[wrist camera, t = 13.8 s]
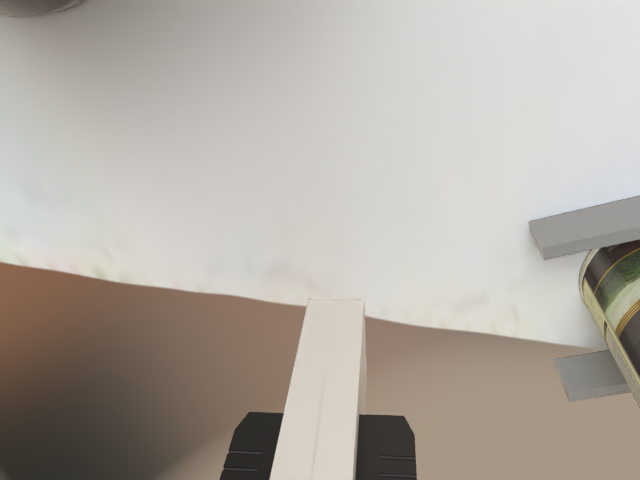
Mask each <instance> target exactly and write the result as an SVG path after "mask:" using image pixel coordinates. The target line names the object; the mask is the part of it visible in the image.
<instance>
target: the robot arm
mask: <svg viewBox="0 0 640 480" xmlns="http://www.w3.org/2000/svg"><path fill="white" fill-rule="evenodd" d="M82 1H84V0H0V15H3V16H10V17H35V16H41V15H46V14H50V13H54V12H59V11H62V10H65V9H68V8H71V7H73V6H75V5H77V4H79V3H81V2H82ZM366 386H367V363H366V336H365V307H364V299H308V304H307V309H306V313H305V318H304V322H303V327H302V332H301V336H300V341H299V346H298V350H297V355H296V360H295V364H294V369H293V374H292V378H291V383H290V387H289V392H288V397H287V401H286V406H285V410H284V413H263V412H249V413H248V414H247V415H246V417H245V418H244V419H243V420H242V421H241V423H240V424H239V425H238V427H237V428H236V429H235V431H234V434H233V438H232V441H231V444H230V447H229V454H227V457H226V460H225V464H224V470H223V471H222V473H221V477H220V480H417V478H416V458H415V457H416V456H415V437H414V433H413V431H412V430H411V428H410V426H409V424H408V422H407V421H406V419H405V417H404V416H392V415H390V416H389V415H365V407H366V406H365V405H366Z"/></svg>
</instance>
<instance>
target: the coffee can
mask: <svg viewBox="0 0 640 480" xmlns="http://www.w3.org/2000/svg"><path fill="white" fill-rule="evenodd" d="M579 289H580V293H581V297H582V299H583V301H584V303H585V305H586V306H587V307H588V309H589V310H590V312H591V314H592V316H593V318H594V320H595V322H596V324H597V326H598V328H599V330H600V332H601V334H602V336H603V337H604V339H605V341H606V343H607V345H608V347H609V350H610V352H611V353H612V355H613V357H614V359H615V361H616V363H617V365H618V367H619V369H620V371H621V373H622V375H623V376H624V378H625V380H626V382H627V384H628V386H629V388H630V390H631V392H632V394H633V396H634V398H635V400H636V402H637V404H638V406H639V408H640V239H639V240H634V241H630V242H625V243H620V244H616V245H611V246H606V247H602V248H597V249H592V250H591V252H590V253H589V255H588V256H587V258H586V259H585V261H584V263H583V266H582V268H581V271H580V276H579Z"/></svg>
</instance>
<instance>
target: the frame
mask: <svg viewBox="0 0 640 480" xmlns="http://www.w3.org/2000/svg"><path fill="white" fill-rule="evenodd" d="M529 224H530V229H531V233H532V236H533V238H534V240H535V242H536V244H537V246H538V248H539V250H540V252H541V255H542V257H543V259H544V260H546V259H551V258H555V257H560V256H565V255H569V254H574V253H579V252H583V251H588V250H592V249H597V248H602V247H606V246H611V245H616V244H620V243H625V242H630V241H634V240H639V239H640V196H636V197H632V198H628V199H623V200H619V201H615V202H611V203H606V204H602V205H598V206H593V207H589V208H585V209H581V210H576V211H572V212H568V213H563V214H559V215H555V216H551V217H546V218H542V219H538V220H534V221H529ZM555 364H556V369H557V371H558V374H559V376H560V379H561V382H562V384H563V387H564V389H565V392H566V394H567V397H568V400H569V401H576V400H583V399H590V398H596V397H603V396H609V395H616V394H623V393H629V392H631V390H630V388H629V386H628V384H627V382H626V380H625V378H624V376H623V375H622V373H621V371H620V369H619V367H618V365H617V363H616V361H615V359H614V357H613V355H612V353H611V352H610V350H605V351H599V352H593V353H588V354H582V355H576V356H570V357H564V358H558V359H555Z"/></svg>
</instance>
